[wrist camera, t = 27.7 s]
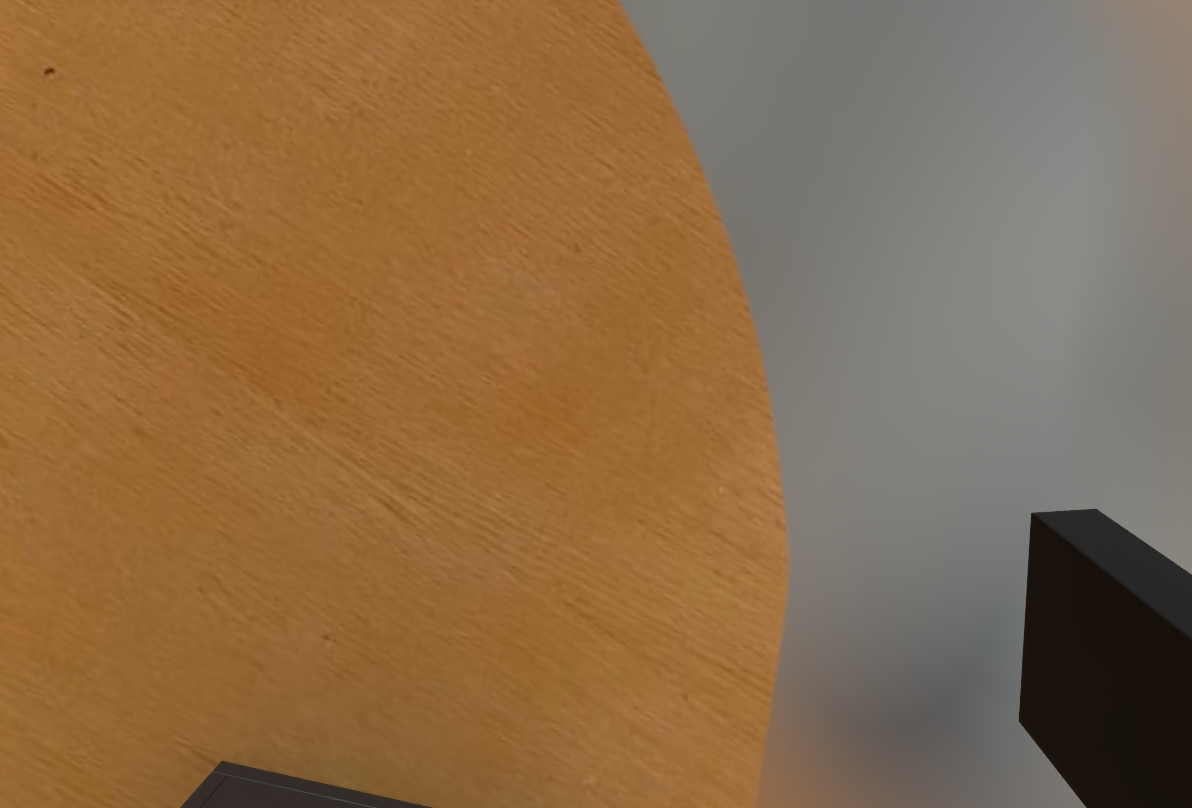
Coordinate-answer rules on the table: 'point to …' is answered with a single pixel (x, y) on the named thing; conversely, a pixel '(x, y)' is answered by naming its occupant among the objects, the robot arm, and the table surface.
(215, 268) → the table surface
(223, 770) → the tote
